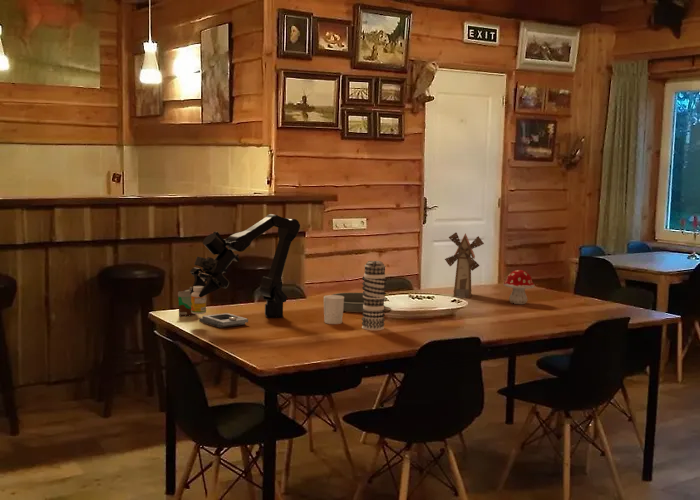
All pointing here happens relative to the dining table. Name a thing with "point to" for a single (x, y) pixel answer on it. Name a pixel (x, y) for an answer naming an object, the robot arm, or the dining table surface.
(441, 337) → the dining table surface
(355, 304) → the cake pan
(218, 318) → the grey knobbed square frame
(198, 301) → the supplement bottle
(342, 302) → the white cup
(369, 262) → the decorative candle
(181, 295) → the food container
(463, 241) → the windmill
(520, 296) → the decorative mushroom
